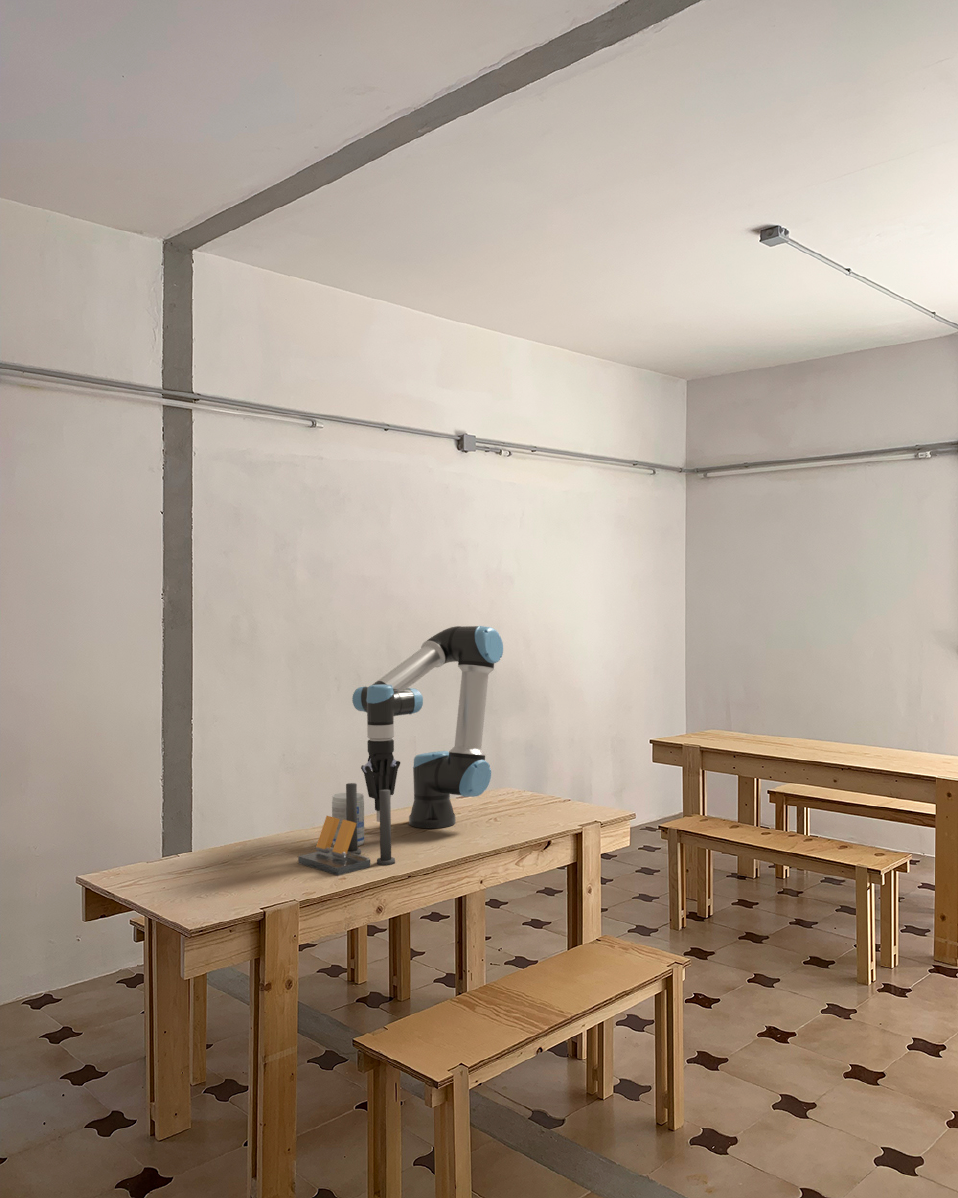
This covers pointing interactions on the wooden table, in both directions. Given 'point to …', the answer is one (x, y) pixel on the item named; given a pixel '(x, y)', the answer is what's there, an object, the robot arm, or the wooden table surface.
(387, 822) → the post
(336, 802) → the supplement tub
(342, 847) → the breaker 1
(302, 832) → the wooden table surface
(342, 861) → the panel plate
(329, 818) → the orange flat block
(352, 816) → the post
